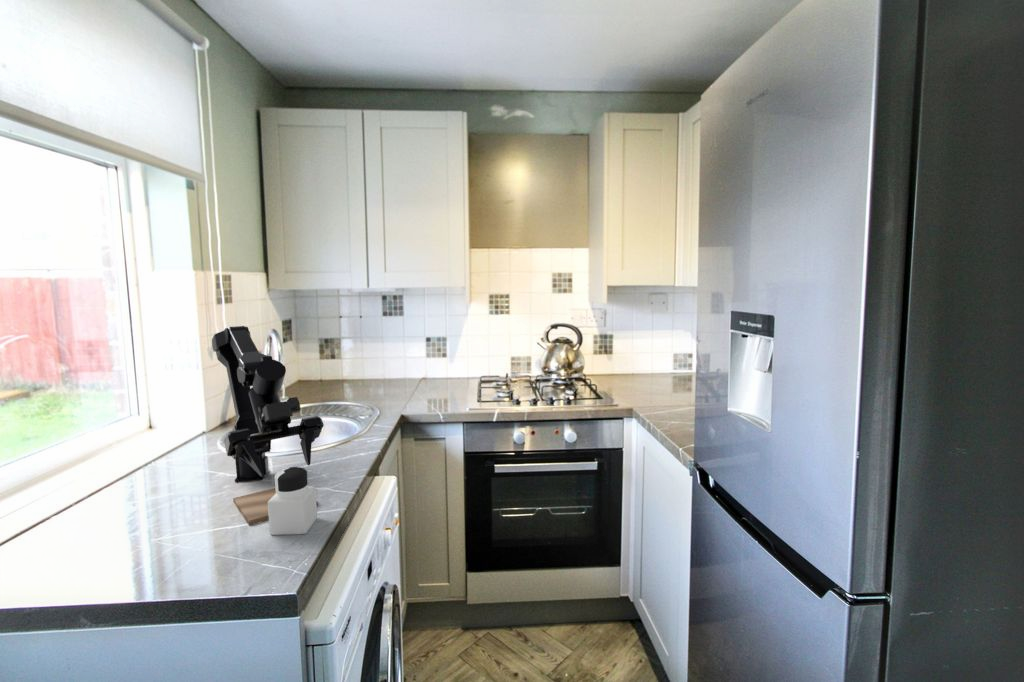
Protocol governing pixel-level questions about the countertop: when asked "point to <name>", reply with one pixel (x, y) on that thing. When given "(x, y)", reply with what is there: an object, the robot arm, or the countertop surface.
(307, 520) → the medicine bottle
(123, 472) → the countertop surface
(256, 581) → the countertop surface
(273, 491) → the walnut base
